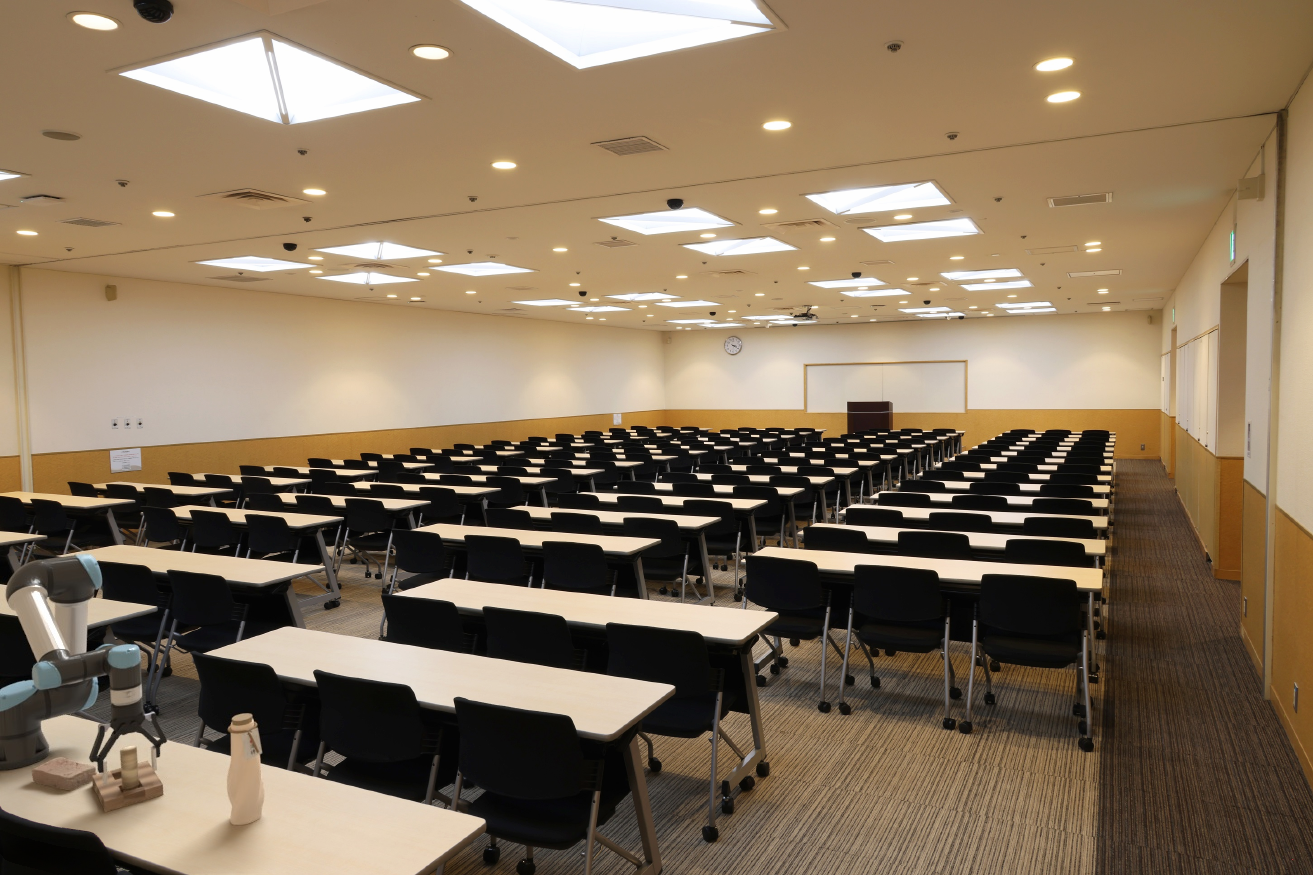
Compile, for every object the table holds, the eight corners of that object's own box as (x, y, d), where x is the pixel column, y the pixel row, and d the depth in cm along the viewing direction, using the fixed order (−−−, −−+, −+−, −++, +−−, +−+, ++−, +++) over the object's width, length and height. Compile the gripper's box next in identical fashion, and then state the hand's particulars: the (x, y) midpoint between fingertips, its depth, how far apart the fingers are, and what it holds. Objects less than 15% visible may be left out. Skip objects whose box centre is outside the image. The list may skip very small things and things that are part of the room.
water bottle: (276, 812, 224) (272, 713, 222) (249, 829, 216) (246, 726, 214) (246, 806, 228) (243, 708, 226) (220, 822, 219) (215, 721, 217)
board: (92, 785, 240) (92, 775, 239) (148, 770, 249) (147, 760, 249) (105, 811, 225) (104, 801, 225) (163, 794, 234) (162, 784, 234)
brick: (98, 779, 244) (98, 763, 244) (70, 792, 236) (69, 776, 236) (59, 770, 250) (59, 755, 249) (31, 783, 242) (30, 767, 242)
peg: (121, 796, 233) (118, 748, 232) (138, 791, 236) (135, 744, 235) (123, 801, 230) (121, 753, 229) (141, 796, 233) (138, 748, 232)
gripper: (78, 716, 221) (82, 794, 222) (177, 693, 237) (180, 766, 238) (73, 708, 226) (77, 784, 228) (170, 686, 242) (174, 758, 244)
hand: (130, 775), depth 233 cm, fingers open, 11 cm apart
